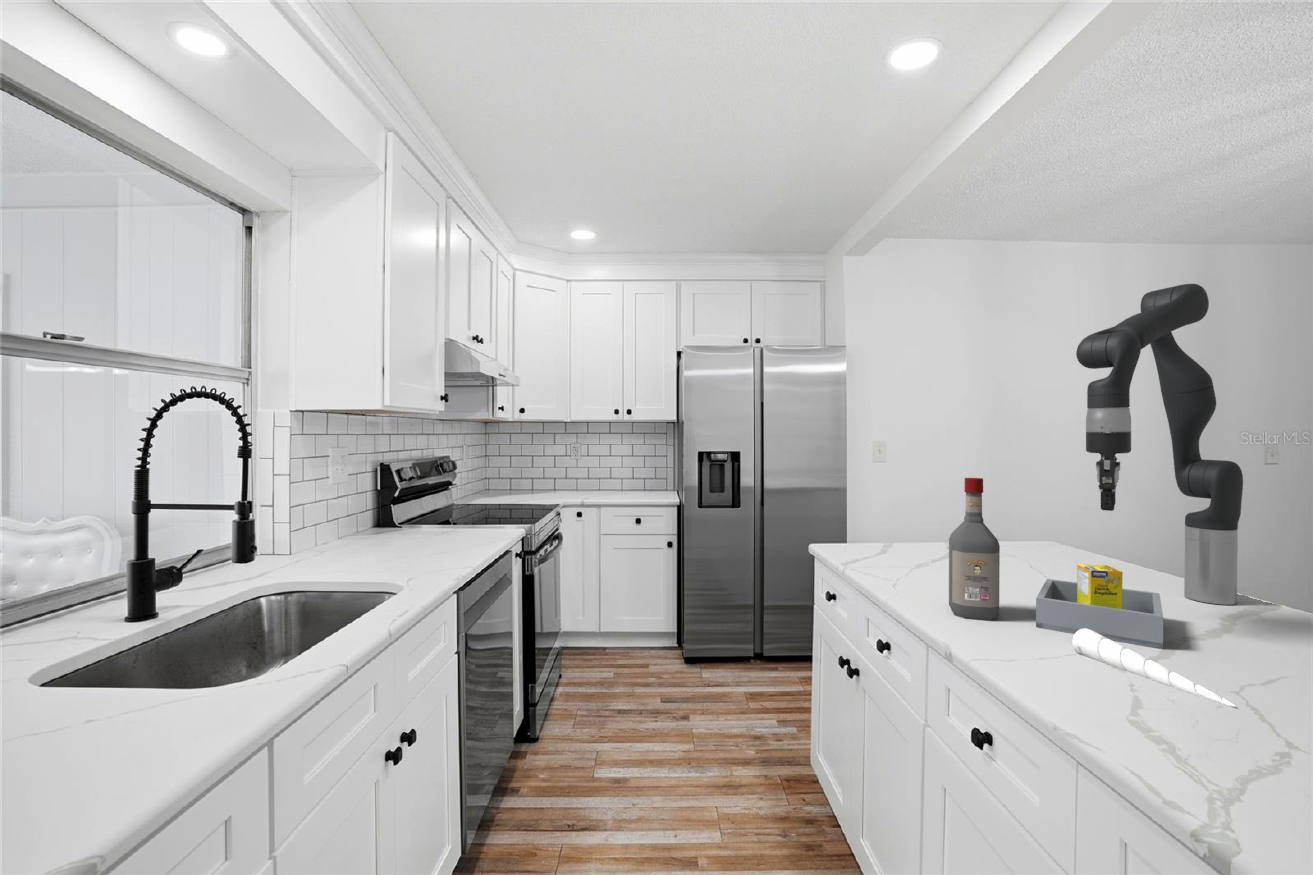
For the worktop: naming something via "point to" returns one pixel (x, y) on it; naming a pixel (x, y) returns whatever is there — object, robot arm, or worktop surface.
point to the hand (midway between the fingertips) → (1108, 507)
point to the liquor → (974, 561)
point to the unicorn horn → (1136, 664)
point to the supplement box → (1099, 585)
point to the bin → (1101, 614)
